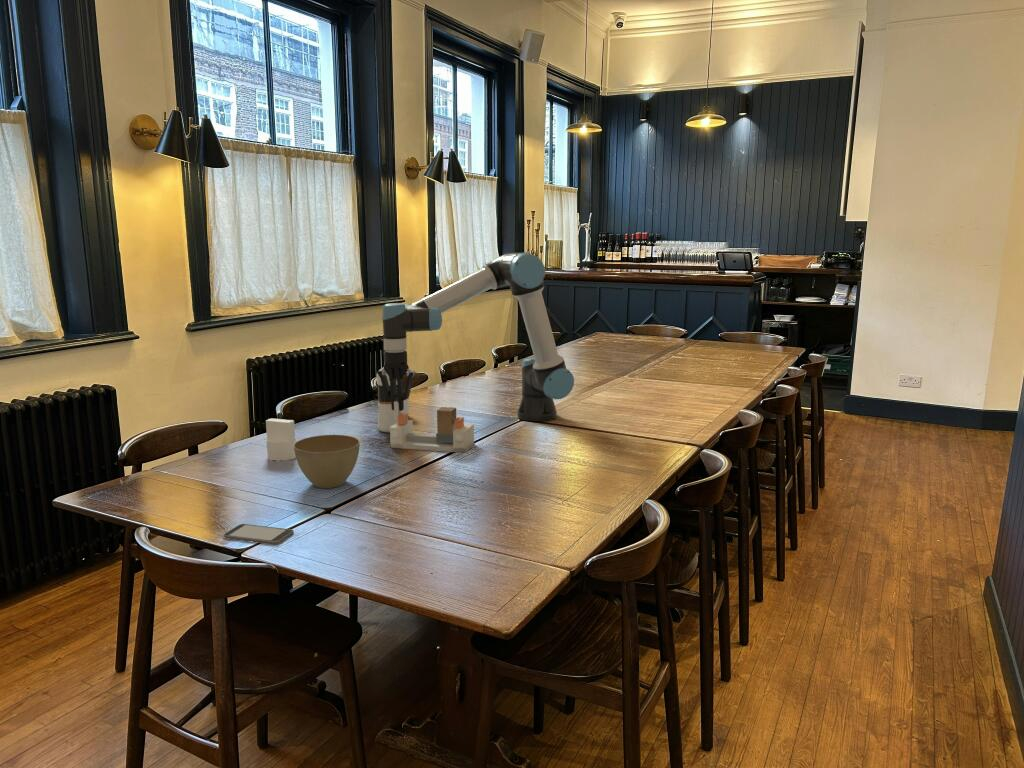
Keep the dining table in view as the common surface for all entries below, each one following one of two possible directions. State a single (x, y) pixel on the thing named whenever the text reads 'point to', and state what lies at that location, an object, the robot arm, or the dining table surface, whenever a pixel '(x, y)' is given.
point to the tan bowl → (327, 458)
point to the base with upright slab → (280, 439)
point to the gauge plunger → (402, 418)
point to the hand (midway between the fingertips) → (398, 419)
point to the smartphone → (259, 534)
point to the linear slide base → (432, 438)
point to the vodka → (385, 407)
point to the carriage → (445, 424)
